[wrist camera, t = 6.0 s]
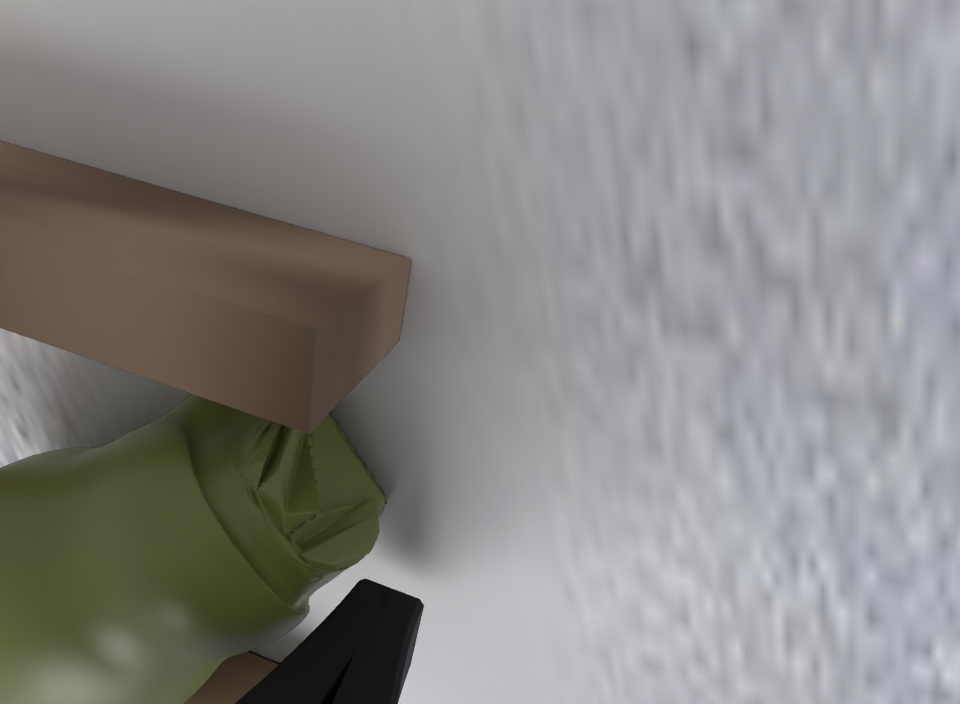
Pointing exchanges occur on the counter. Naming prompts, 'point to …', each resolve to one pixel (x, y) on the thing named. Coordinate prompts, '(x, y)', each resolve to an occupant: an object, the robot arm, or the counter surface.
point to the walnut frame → (193, 302)
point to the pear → (170, 552)
